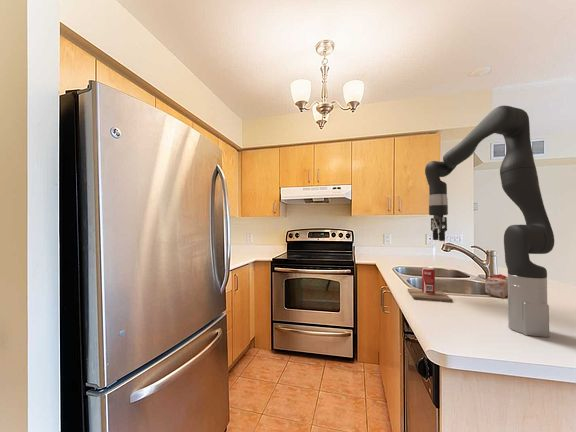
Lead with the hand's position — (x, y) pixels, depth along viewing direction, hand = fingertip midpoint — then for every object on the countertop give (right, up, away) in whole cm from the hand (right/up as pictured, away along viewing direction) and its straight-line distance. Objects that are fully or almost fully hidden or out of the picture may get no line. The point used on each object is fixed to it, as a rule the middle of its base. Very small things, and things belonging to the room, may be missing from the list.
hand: (438, 240), depth 119 cm
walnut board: (-4, -26, +1) cm, 26 cm away
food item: (+30, -26, +4) cm, 40 cm away
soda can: (-4, -25, +1) cm, 25 cm away
